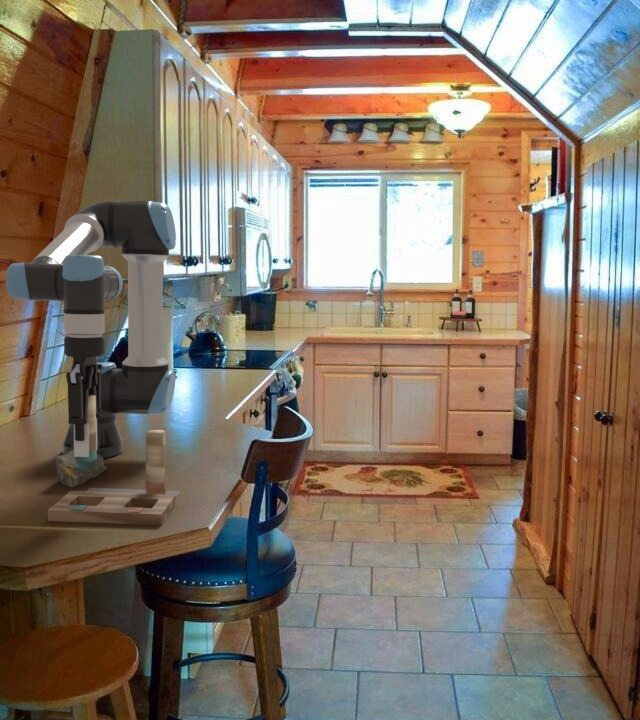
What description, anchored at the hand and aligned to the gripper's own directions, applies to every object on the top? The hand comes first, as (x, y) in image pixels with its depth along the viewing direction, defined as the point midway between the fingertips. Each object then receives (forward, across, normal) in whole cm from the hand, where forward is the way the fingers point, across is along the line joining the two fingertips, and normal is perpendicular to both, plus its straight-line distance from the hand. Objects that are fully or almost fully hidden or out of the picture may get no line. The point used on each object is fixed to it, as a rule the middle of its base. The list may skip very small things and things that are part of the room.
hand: (85, 453), depth 147 cm
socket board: (+12, 0, +6) cm, 14 cm away
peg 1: (+3, 0, 0) cm, 3 cm away
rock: (+13, -22, -9) cm, 27 cm away
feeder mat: (+12, -11, +6) cm, 17 cm away
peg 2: (+12, -11, +11) cm, 20 cm away
